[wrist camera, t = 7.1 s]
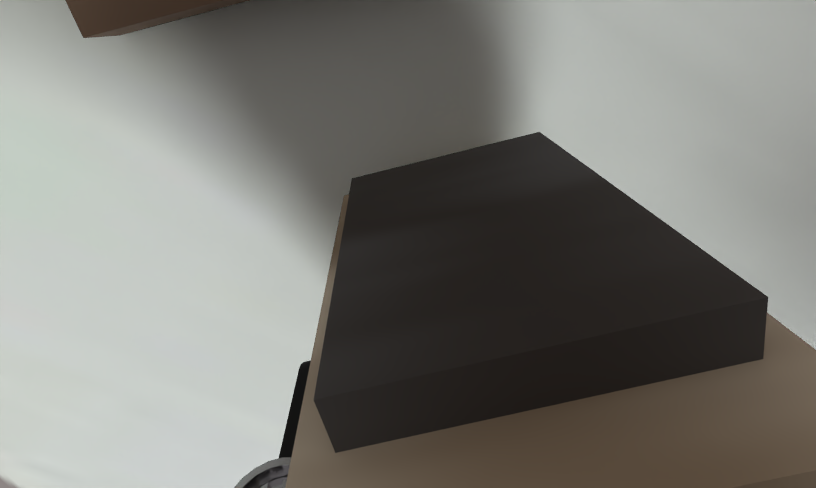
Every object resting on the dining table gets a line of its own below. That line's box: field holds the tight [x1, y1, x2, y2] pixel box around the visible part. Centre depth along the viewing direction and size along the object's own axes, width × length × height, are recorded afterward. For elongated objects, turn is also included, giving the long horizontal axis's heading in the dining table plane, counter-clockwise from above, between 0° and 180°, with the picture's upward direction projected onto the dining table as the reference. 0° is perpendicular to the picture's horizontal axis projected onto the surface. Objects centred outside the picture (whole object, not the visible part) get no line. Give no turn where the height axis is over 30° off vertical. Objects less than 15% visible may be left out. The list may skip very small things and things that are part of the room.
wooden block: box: [285, 132, 816, 488], centre depth 8 cm, size 4×7×8 cm
